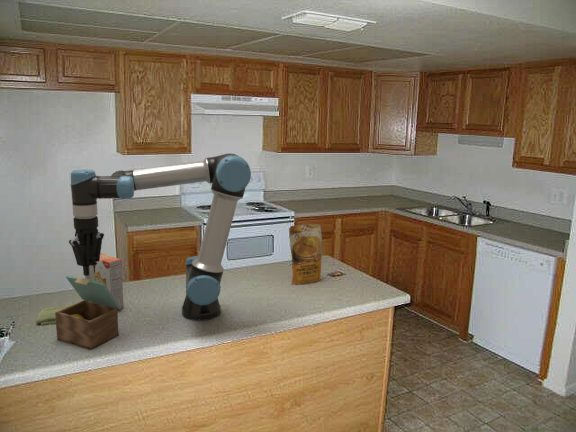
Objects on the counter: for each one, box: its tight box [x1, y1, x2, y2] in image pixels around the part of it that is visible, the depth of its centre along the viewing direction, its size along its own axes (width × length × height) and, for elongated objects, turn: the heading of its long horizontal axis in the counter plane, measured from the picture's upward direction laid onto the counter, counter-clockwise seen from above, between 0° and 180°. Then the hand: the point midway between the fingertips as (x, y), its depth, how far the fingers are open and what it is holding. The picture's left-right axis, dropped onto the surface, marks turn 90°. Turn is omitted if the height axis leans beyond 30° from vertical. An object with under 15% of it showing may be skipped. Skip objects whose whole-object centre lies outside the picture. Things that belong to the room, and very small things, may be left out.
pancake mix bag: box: [288, 222, 323, 286], centre depth 222 cm, size 7×19×28 cm, turn 118°
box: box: [55, 300, 122, 351], centre depth 162 cm, size 17×13×10 cm
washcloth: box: [35, 303, 75, 326], centre depth 179 cm, size 13×18×3 cm
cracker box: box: [90, 253, 124, 310], centre depth 187 cm, size 14×6×21 cm, turn 58°
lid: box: [65, 274, 120, 308], centre depth 162 cm, size 17×13×2 cm
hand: (90, 283), depth 161 cm, fingers closed
